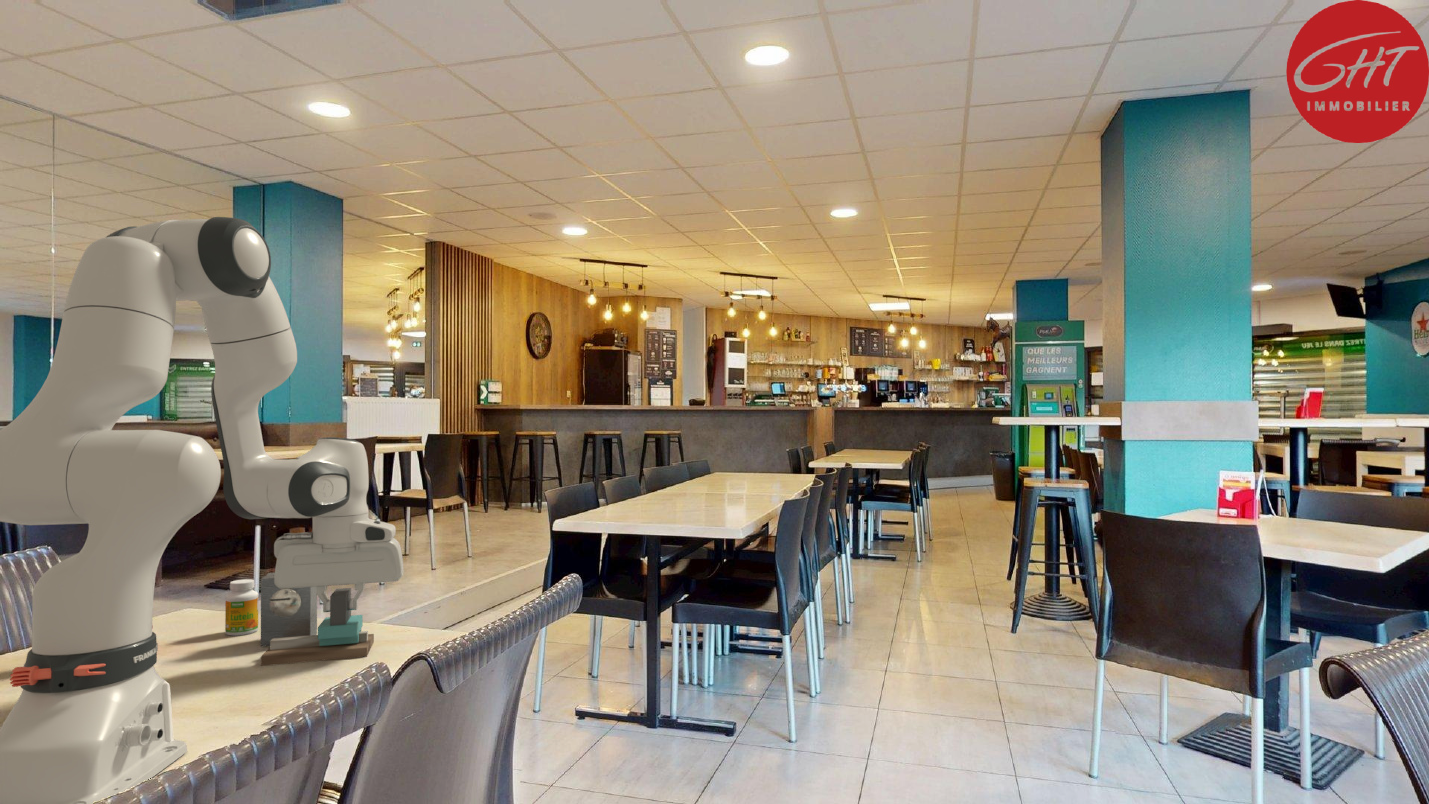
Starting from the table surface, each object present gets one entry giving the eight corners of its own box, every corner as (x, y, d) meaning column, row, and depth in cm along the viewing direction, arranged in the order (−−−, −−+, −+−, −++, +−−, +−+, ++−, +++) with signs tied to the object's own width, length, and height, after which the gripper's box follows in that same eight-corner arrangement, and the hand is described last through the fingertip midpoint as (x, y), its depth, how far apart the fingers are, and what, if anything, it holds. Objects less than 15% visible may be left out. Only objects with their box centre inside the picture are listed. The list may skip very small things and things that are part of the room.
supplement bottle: (226, 638, 144) (226, 585, 145) (224, 631, 149) (224, 580, 149) (259, 633, 148) (260, 581, 148) (256, 627, 152) (256, 577, 152)
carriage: (356, 645, 133) (356, 594, 133) (317, 648, 131) (317, 597, 131) (362, 634, 139) (362, 586, 139) (325, 637, 137) (325, 589, 138)
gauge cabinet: (309, 643, 140) (309, 576, 141) (259, 647, 138) (260, 579, 138) (316, 633, 147) (317, 569, 147) (269, 637, 144) (269, 572, 144)
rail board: (366, 656, 132) (367, 638, 132) (260, 665, 127) (260, 647, 127) (373, 642, 141) (373, 625, 141) (274, 650, 136) (274, 633, 136)
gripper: (269, 536, 129) (269, 619, 129) (401, 530, 135) (401, 610, 135) (278, 531, 135) (278, 611, 135) (404, 525, 141) (404, 602, 141)
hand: (340, 610), depth 135 cm, fingers closed on carriage, 2 cm apart
